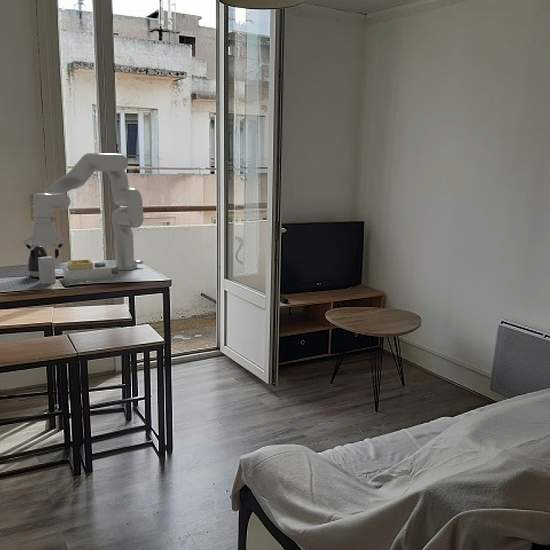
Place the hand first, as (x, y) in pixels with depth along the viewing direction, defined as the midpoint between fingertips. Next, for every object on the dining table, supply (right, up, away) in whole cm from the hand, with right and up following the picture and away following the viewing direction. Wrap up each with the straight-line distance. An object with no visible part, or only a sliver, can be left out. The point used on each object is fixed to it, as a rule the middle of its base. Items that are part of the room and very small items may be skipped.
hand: (45, 258), depth 249 cm
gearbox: (+17, -9, +14) cm, 24 cm away
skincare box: (0, -11, +3) cm, 12 cm away
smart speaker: (-9, -9, +16) cm, 20 cm away
